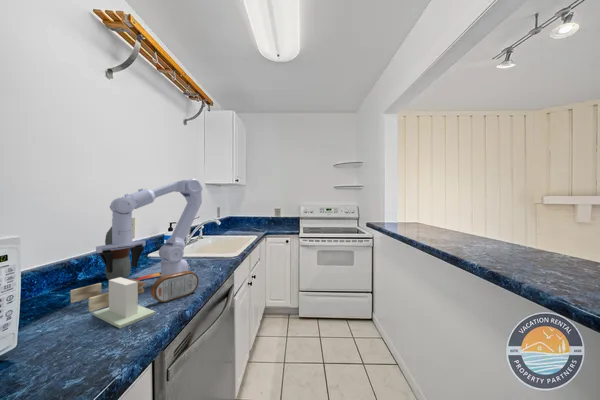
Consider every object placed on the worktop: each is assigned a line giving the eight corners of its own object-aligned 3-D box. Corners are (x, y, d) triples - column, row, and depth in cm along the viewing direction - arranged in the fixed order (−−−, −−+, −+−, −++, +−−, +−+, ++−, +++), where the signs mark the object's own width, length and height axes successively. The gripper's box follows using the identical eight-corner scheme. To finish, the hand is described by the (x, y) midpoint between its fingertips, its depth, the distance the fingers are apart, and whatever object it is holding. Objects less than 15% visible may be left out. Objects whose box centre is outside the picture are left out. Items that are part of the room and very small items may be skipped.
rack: (100, 294, 86) (100, 283, 86) (120, 302, 78) (120, 290, 78) (70, 302, 79) (70, 290, 79) (90, 312, 71) (90, 298, 71)
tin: (195, 290, 88) (195, 267, 88) (200, 292, 86) (199, 269, 86) (150, 304, 76) (150, 278, 76) (154, 306, 74) (154, 280, 74)
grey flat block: (120, 306, 73) (120, 277, 73) (137, 313, 68) (137, 281, 68) (108, 310, 70) (108, 280, 70) (126, 317, 65) (125, 285, 65)
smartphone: (120, 281, 101) (120, 279, 101) (160, 274, 111) (160, 271, 111) (120, 286, 95) (120, 283, 95) (163, 277, 105) (163, 275, 105)
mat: (127, 303, 77) (127, 301, 77) (155, 314, 69) (155, 311, 69) (93, 315, 69) (93, 312, 69) (119, 328, 61) (119, 325, 61)
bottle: (104, 277, 106) (104, 210, 106) (129, 273, 112) (129, 210, 112) (105, 282, 99) (105, 211, 99) (132, 277, 105) (132, 210, 106)
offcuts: (130, 287, 92) (130, 278, 92) (145, 292, 87) (145, 282, 87) (120, 290, 89) (120, 280, 89) (135, 295, 84) (135, 285, 84)
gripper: (138, 228, 92) (138, 263, 92) (91, 232, 79) (92, 273, 79) (148, 229, 89) (148, 265, 88) (101, 233, 76) (101, 276, 76)
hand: (122, 269), depth 84 cm, fingers open, 7 cm apart
